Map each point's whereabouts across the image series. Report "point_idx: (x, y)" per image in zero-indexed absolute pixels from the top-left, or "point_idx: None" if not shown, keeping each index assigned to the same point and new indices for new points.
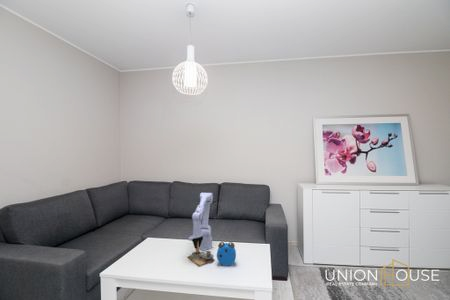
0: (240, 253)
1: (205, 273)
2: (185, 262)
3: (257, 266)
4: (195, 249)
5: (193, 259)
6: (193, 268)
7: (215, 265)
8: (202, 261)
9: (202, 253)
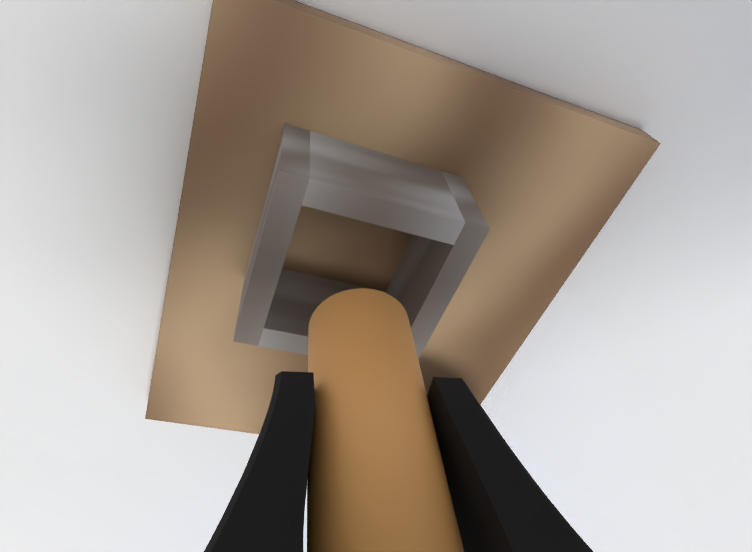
0: (746, 512)
1: (110, 519)
2: (27, 116)
3: None
4: (318, 337)
5: (217, 230)
6: (44, 375)
7: None
8: None
9: (562, 205)
